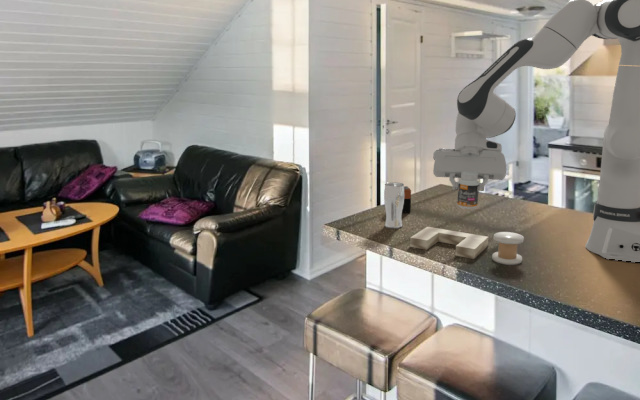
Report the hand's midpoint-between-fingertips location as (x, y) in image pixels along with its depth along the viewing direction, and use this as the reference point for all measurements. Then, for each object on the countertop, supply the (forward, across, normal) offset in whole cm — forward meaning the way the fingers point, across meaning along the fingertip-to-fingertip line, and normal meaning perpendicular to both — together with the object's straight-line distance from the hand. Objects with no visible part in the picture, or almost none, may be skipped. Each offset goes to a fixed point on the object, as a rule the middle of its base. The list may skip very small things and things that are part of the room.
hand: (468, 189), depth 143 cm
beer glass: (-3, -23, +32) cm, 40 cm away
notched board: (+9, -4, +19) cm, 22 cm away
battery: (-16, -22, +46) cm, 54 cm away
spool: (+15, +12, +13) cm, 23 cm away
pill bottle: (+4, 0, +4) cm, 5 cm away
